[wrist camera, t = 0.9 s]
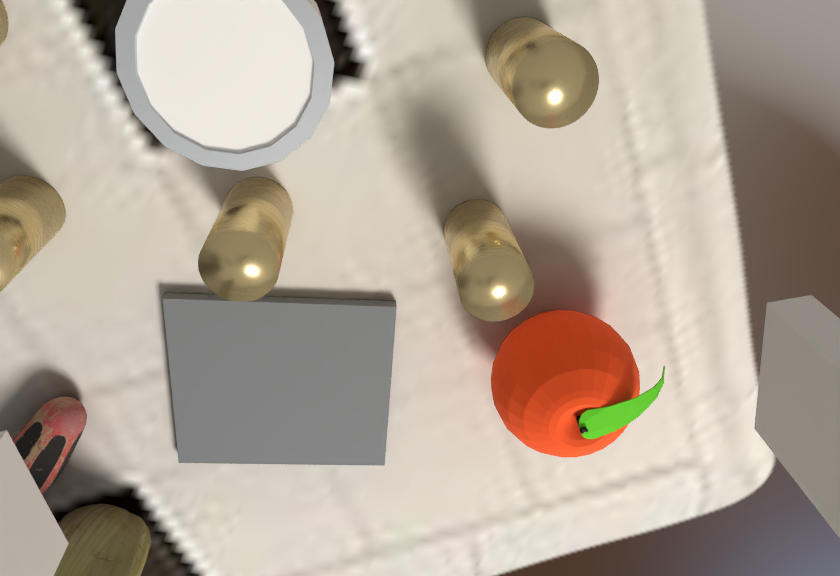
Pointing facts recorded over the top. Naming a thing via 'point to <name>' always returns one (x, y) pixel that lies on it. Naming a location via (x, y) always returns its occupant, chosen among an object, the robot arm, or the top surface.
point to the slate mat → (280, 379)
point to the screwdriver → (51, 439)
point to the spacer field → (272, 208)
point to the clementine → (567, 384)
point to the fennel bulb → (103, 542)
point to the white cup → (226, 76)
